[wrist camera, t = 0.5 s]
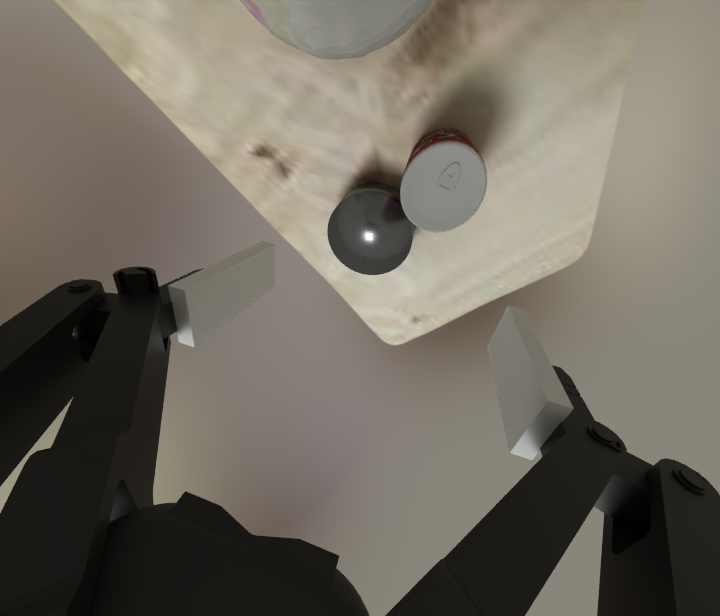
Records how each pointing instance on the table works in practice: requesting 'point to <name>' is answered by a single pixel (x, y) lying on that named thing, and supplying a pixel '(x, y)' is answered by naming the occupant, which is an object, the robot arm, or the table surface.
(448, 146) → the canned food
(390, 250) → the pedestal
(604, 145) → the table surface
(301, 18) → the ceramic pitcher
